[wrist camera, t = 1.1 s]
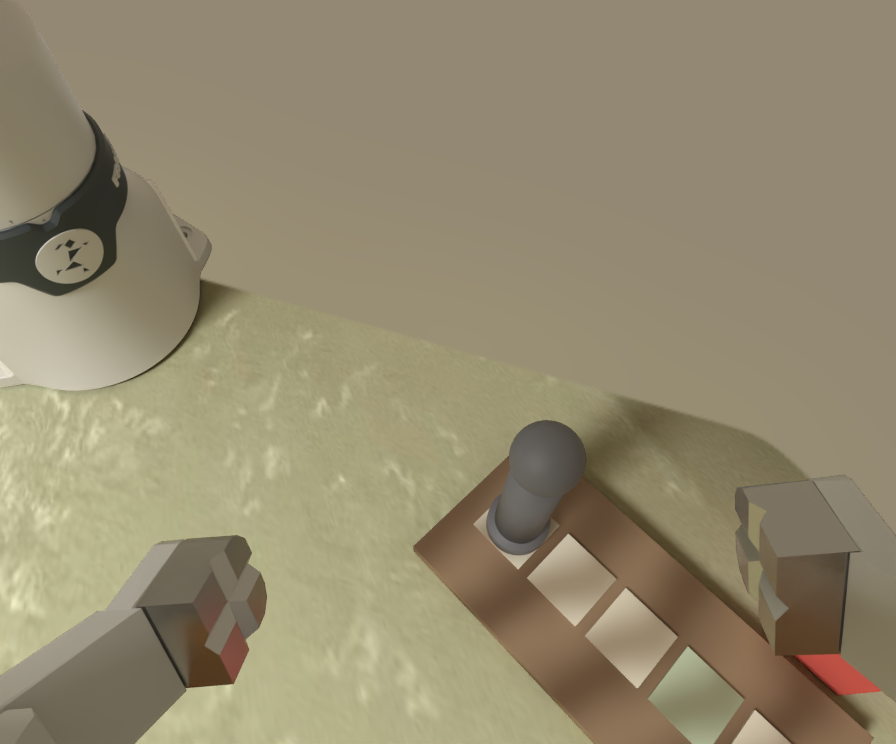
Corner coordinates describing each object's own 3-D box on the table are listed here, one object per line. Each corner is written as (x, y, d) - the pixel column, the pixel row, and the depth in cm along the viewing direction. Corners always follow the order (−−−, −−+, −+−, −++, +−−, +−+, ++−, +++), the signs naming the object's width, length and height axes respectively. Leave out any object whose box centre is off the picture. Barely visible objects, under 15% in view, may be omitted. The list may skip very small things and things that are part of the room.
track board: (413, 551, 40) (413, 545, 39) (530, 439, 44) (533, 431, 43) (755, 915, 32) (768, 922, 31) (860, 737, 36) (875, 737, 35)
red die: (762, 628, 39) (807, 615, 34) (805, 569, 41) (852, 550, 36) (837, 695, 37) (894, 690, 33) (878, 630, 39) (937, 617, 34)
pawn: (473, 523, 40) (494, 442, 29) (514, 483, 41) (550, 390, 30) (518, 568, 39) (558, 501, 27) (559, 525, 40) (613, 444, 29)
